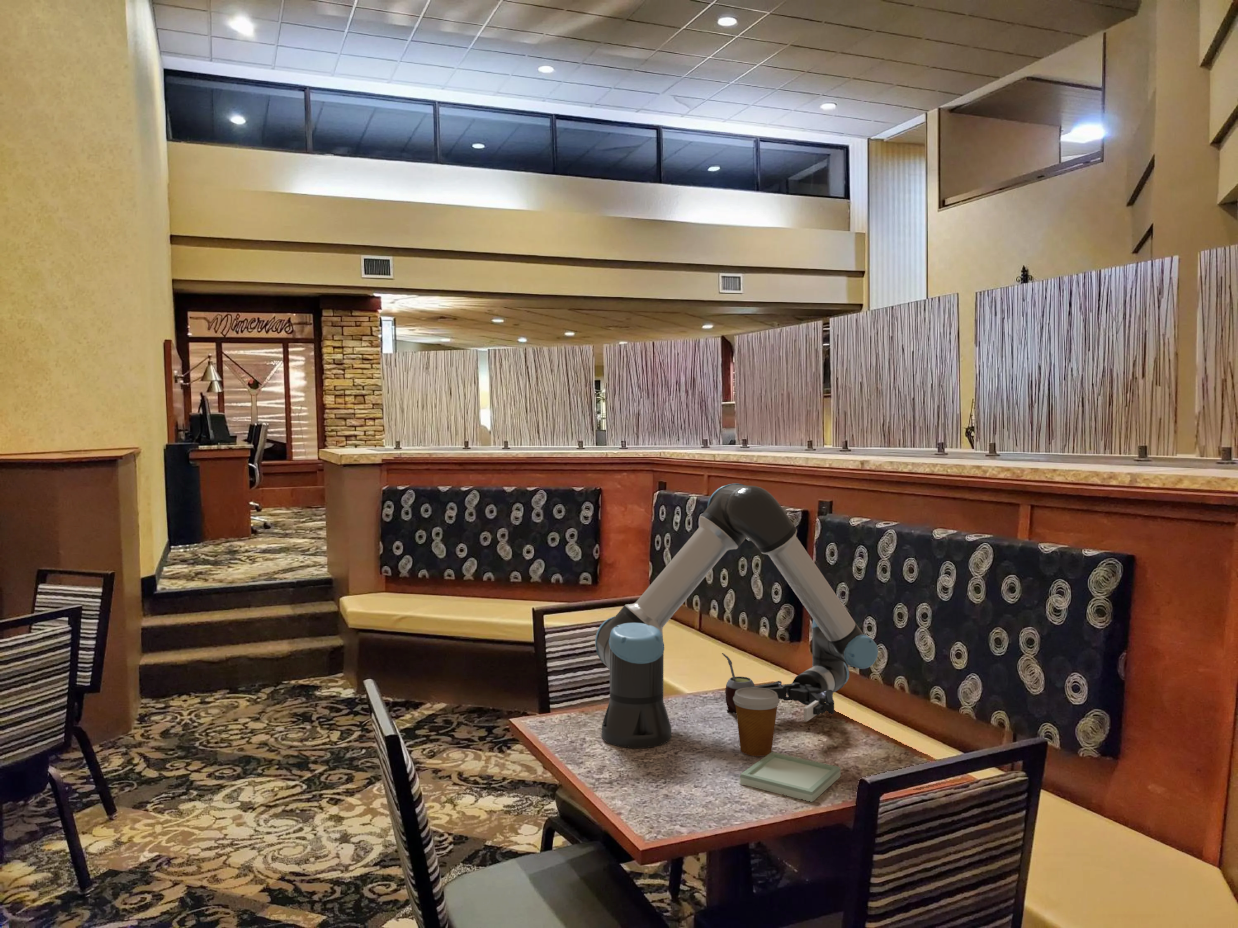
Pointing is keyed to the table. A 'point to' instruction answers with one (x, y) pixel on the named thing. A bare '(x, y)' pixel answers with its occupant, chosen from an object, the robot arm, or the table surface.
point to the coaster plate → (790, 776)
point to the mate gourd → (735, 687)
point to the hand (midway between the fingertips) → (775, 708)
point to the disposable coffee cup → (756, 719)
